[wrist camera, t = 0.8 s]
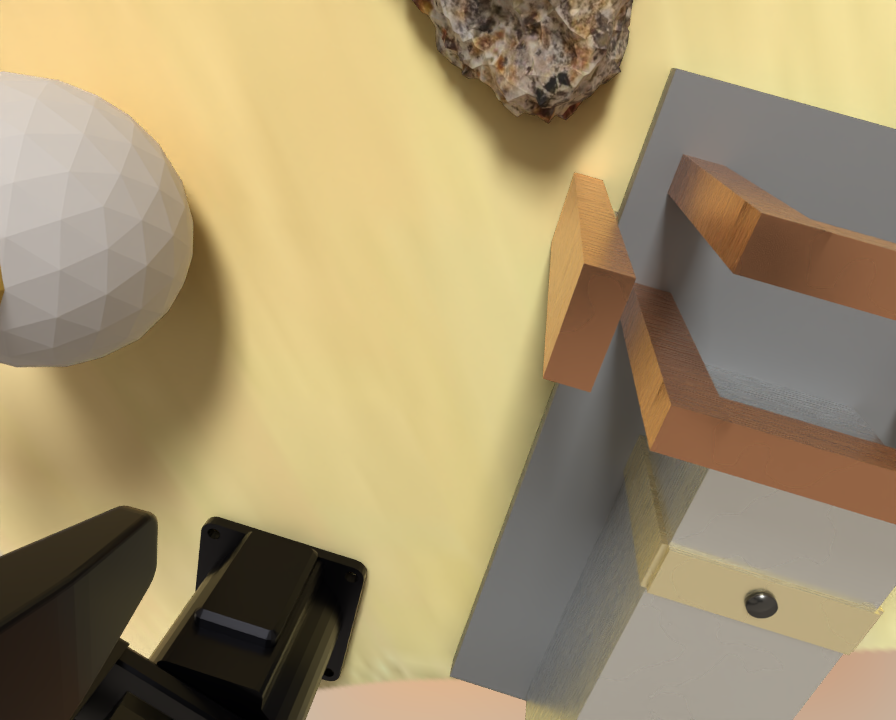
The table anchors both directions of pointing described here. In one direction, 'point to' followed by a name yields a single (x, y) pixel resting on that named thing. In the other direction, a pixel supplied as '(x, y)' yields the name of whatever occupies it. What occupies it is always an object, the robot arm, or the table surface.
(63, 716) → the robot arm
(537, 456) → the board
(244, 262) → the table surface
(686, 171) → the angle bracket
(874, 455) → the collar
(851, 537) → the grey long block
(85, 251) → the white faceted ball
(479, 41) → the mineral rock
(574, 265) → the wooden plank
